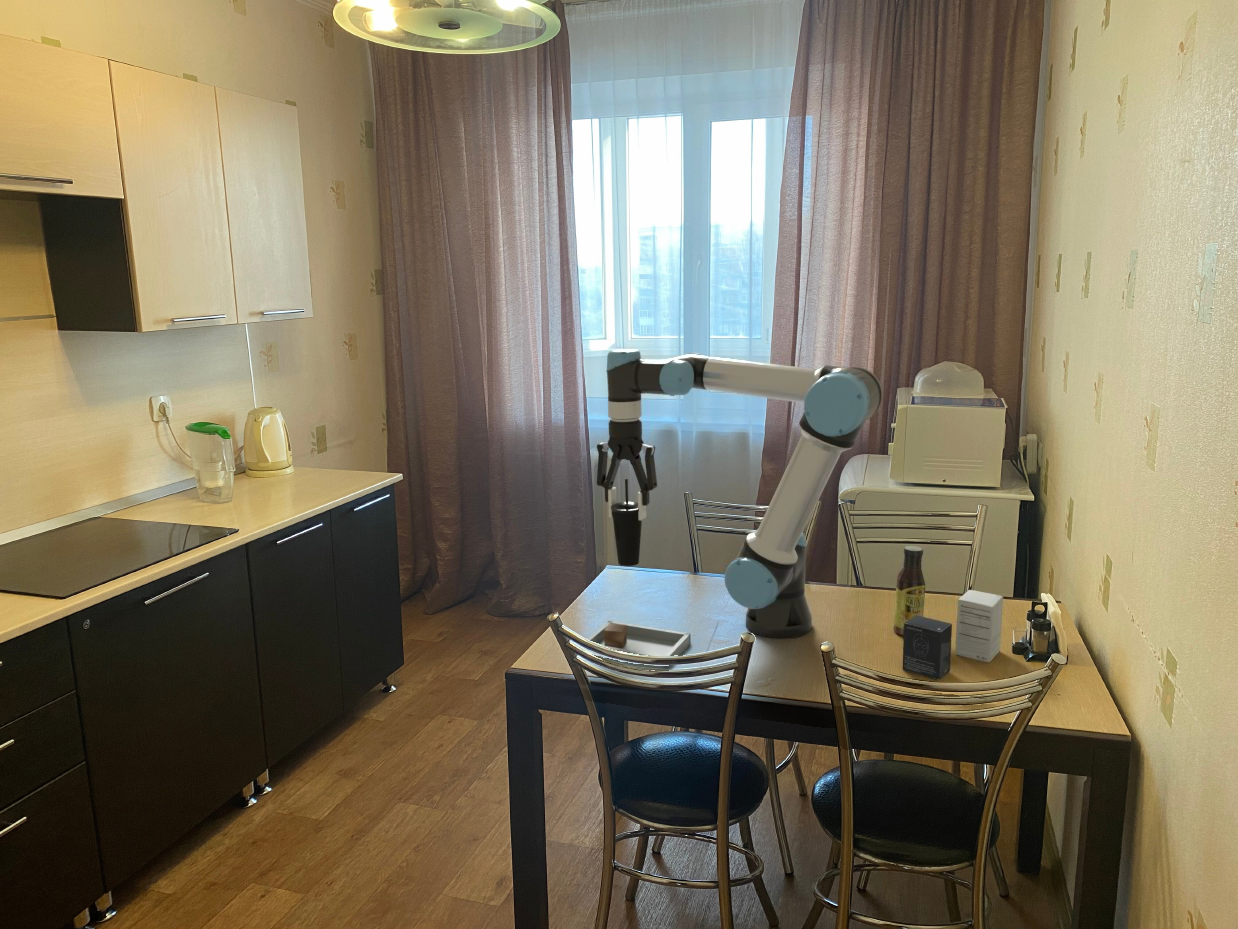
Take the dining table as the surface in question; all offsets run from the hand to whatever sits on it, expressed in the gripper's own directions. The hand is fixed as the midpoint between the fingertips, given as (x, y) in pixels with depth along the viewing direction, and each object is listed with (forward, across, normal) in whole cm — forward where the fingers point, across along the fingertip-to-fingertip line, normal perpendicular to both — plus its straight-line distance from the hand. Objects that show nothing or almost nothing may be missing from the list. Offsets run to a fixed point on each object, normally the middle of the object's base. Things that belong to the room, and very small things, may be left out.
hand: (627, 517), depth 207 cm
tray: (+26, -8, +14) cm, 30 cm away
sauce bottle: (+26, -61, -18) cm, 69 cm away
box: (+26, -67, +1) cm, 72 cm away
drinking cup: (+11, 0, 0) cm, 11 cm away
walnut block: (+25, -3, +14) cm, 29 cm away
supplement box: (+26, -76, -12) cm, 81 cm away
